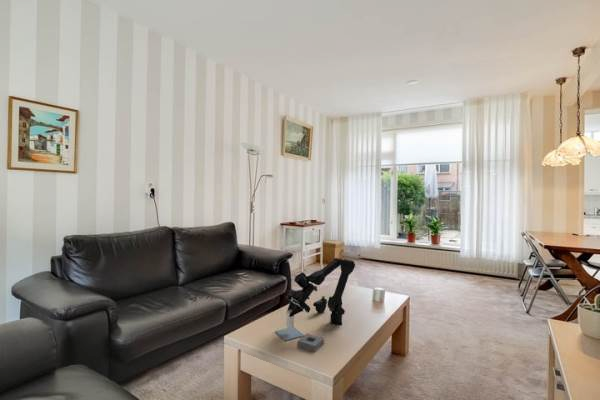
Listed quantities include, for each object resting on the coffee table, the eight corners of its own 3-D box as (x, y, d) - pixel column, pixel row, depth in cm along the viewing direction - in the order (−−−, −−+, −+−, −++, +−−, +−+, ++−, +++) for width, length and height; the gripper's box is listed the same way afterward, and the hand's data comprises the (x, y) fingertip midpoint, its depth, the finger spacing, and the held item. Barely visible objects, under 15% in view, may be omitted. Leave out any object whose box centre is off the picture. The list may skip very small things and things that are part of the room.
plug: (291, 325, 168) (291, 309, 168) (293, 327, 166) (294, 311, 166) (286, 326, 167) (286, 310, 167) (289, 328, 164) (289, 312, 164)
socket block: (307, 338, 161) (307, 333, 161) (323, 343, 156) (323, 338, 156) (297, 346, 153) (297, 340, 153) (314, 352, 148) (315, 346, 148)
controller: (327, 311, 202) (328, 296, 202) (317, 316, 192) (317, 301, 192) (322, 309, 204) (322, 294, 204) (311, 314, 195) (312, 299, 194)
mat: (293, 327, 174) (293, 326, 174) (304, 336, 164) (304, 335, 164) (275, 332, 168) (275, 331, 168) (285, 341, 158) (285, 340, 158)
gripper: (289, 279, 176) (271, 301, 170) (306, 288, 160) (287, 312, 154) (300, 291, 180) (283, 312, 175) (317, 300, 164) (300, 324, 159)
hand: (288, 315), depth 165 cm, fingers closed on plug, 3 cm apart
